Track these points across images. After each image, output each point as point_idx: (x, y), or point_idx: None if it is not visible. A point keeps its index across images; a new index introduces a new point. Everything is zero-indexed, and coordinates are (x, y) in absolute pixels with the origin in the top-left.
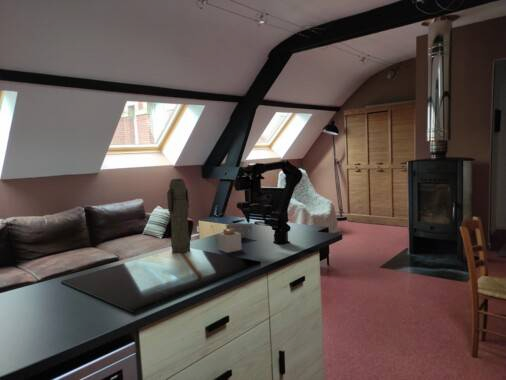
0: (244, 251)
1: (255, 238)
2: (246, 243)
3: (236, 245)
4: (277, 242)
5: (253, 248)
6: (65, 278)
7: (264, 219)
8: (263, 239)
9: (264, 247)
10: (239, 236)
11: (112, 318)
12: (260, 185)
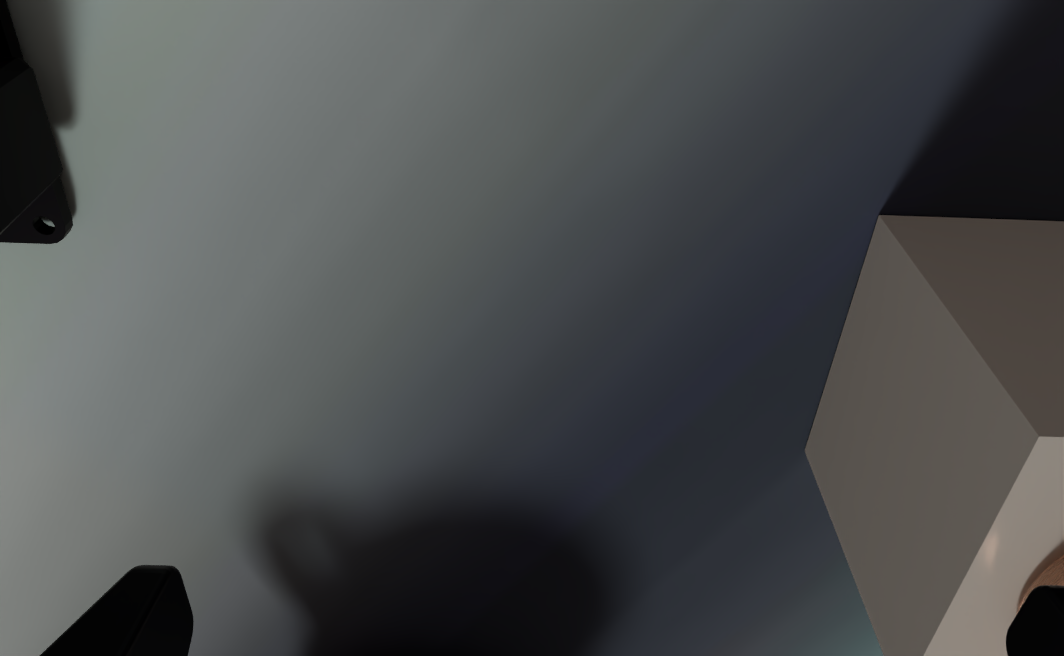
0: (947, 77)
1: (201, 601)
2: (495, 479)
3: (1039, 273)
4: (20, 63)
5: (652, 142)
6: None
7: (159, 591)
8: (119, 499)
9: (433, 42)
10: (1047, 385)
11: None
12: None
